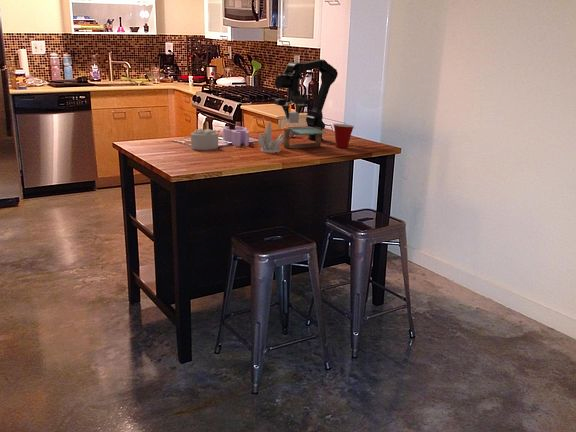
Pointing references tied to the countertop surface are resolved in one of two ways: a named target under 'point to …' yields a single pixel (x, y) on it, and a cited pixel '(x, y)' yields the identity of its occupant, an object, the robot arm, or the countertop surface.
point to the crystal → (269, 141)
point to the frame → (287, 145)
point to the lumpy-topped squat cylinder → (204, 139)
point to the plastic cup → (342, 134)
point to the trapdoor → (304, 130)
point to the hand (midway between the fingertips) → (292, 118)
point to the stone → (293, 117)
